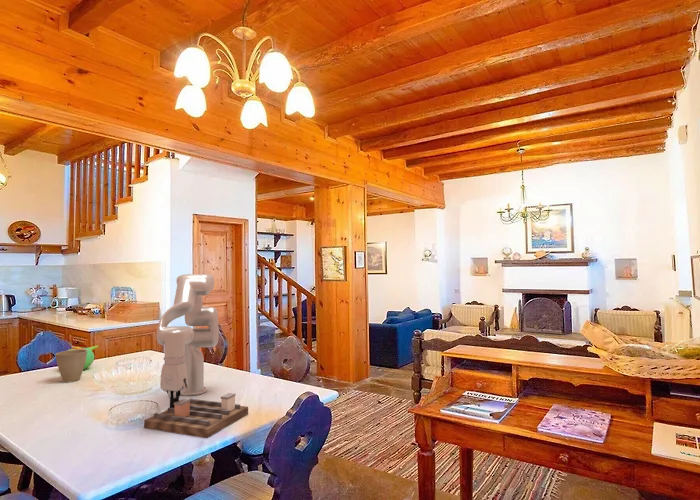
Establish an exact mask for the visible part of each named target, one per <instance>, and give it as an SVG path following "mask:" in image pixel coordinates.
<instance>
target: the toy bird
mask: <svg viewBox="0 0 700 500" xmlns="http://www.w3.org/2000/svg"><path fill="white" fill-rule="evenodd" d="M97 348H99V345H93V346H89V347H84V346H82V347H81V346H72V348H70V349H67V350H66V351H69V350H87V356H86V361H85V365H84V369H83V370H85V369H87V368H89V367H90V366H91V365H92V364H93V363H94V361H95V354H94V352H93V351H94V350H95V349H97Z"/></svg>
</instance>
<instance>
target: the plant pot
mask: <svg viewBox="0 0 700 500" xmlns="http://www.w3.org/2000/svg"><path fill="white" fill-rule="evenodd" d="M68 350H69V349H68ZM86 356H87V350H69V351H67V350H63V351H59V352H56V353H55V360H56V364H57V369H58V372H59V374H60V377H61V379H62V382H63V383H73V382H77V381H79V380H80V379H81V378H82V374H83V371H84V370H85V369H84V365H85V361H86Z"/></svg>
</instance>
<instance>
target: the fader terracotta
mask: <svg viewBox="0 0 700 500" xmlns="http://www.w3.org/2000/svg"><path fill="white" fill-rule="evenodd" d="M191 399H192V398H181V399H179V401H177V402H174V405H175V413H174V416H181V417H186V416H189V415H190V401H191Z"/></svg>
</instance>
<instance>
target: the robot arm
mask: <svg viewBox="0 0 700 500" xmlns="http://www.w3.org/2000/svg"><path fill="white" fill-rule="evenodd" d="M214 288H215V277H214V275H212V274H210V273H208V274H207V273H202V274H201V273H194V274H193V273H192V274H191V273H190V274H189V273H188V274H187V273H186V274H181V275H178V276H177V278H176V288H175V295H174V300H173V305H172V306H171V307H170V308H168V309H167V310H166V311H165V312H164V313H163V314H162V315H161V317H160V319H159V321H158V325H157V330H156V342H157V343H158V345H160V346H164V357H163V361H164V362H163V364H162V367H161V371H160V386H159V387H160V389H161V390H162V391H163V392H165V393H166V394H167V395H168V398H169V407H170V408H175V405H174V402H177V401H179V400H180V396H183V397H185V396H186V397H192V396H193V397H194V396H200V395H203V394H205V393H206V392H207V390H208V389H207V387H205V386H204V384H205V383H204V381H205V379H204V378H205V377H204V374H205V373H204V371H205V369H204V367H205V365H204V363H205V361H204V360H205V359H204V354H203V352H202V351H201V350H200V348H213V347H216V346H217V345H218V343H219V336H220V335H219V313H218V309H217V308H216V307H215V306H203V296H209V295H210V294H211V293H212V291H213V290H214ZM183 316H184V323H185V325H186V326H185V325H184V326H183V325H182V326H177V325H176V326H169V324H171V323H172V322H173V321H174V320H176V319H178V318H181V317H183ZM205 326H206V327H205ZM192 327H197V328H192ZM199 327H200V328H199ZM201 327H202V328H201ZM207 327H208V328H207Z"/></svg>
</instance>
